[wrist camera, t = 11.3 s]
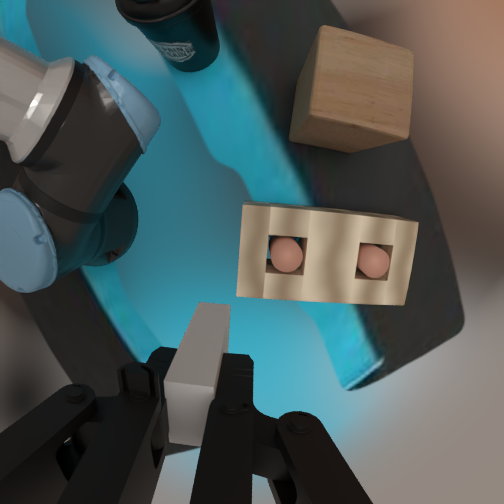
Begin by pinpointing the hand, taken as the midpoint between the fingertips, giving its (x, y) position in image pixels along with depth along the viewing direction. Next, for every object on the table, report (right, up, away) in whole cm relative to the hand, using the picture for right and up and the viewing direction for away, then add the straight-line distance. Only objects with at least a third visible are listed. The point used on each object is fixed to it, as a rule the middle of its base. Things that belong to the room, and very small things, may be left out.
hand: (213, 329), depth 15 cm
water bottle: (-7, +35, +28) cm, 46 cm away
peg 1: (+6, +5, +34) cm, 34 cm away
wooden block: (+13, +24, +30) cm, 41 cm away
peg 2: (+18, +4, +34) cm, 38 cm away
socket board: (+12, +4, +34) cm, 36 cm away
